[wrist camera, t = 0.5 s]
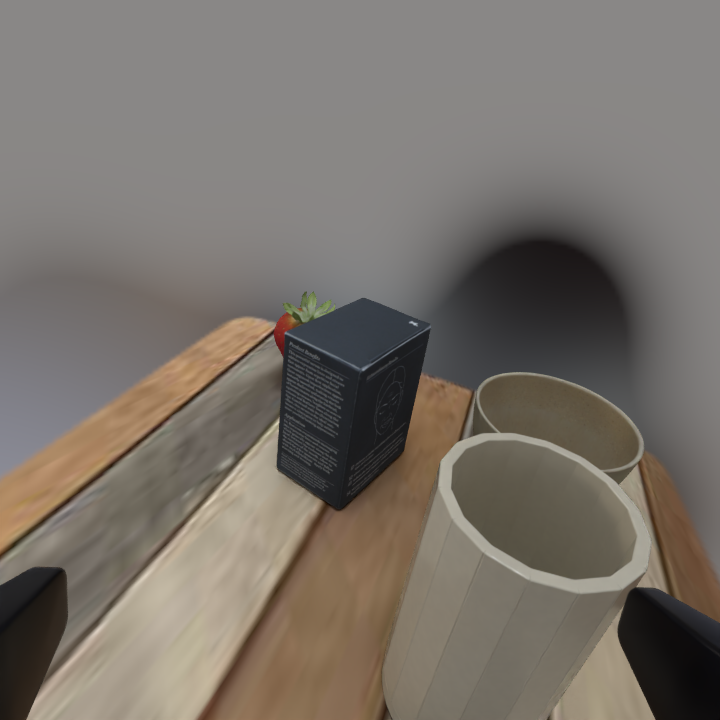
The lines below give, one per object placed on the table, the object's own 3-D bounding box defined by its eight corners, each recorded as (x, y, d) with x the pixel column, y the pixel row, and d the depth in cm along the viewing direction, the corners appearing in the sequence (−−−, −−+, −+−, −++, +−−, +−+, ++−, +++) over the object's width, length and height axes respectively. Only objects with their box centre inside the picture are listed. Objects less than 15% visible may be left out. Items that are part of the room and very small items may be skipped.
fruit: (302, 406, 39) (312, 317, 35) (257, 378, 42) (261, 291, 38) (344, 384, 43) (356, 300, 39) (300, 359, 45) (307, 278, 41)
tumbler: (561, 763, 20) (702, 582, 14) (403, 792, 19) (488, 602, 13) (493, 607, 26) (573, 431, 20) (368, 619, 25) (415, 433, 19)
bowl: (540, 443, 39) (572, 368, 36) (630, 546, 31) (683, 462, 28) (427, 454, 36) (450, 372, 33) (495, 571, 28) (535, 480, 25)
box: (343, 418, 39) (363, 294, 33) (404, 453, 36) (435, 324, 31) (272, 468, 33) (282, 328, 27) (338, 514, 30) (363, 368, 25)
